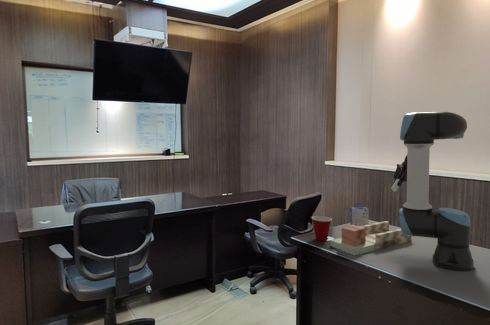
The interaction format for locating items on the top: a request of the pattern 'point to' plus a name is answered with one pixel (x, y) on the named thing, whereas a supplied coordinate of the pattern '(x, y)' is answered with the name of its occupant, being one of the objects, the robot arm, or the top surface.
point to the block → (353, 235)
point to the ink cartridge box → (359, 215)
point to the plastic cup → (321, 227)
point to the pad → (352, 247)
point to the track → (384, 235)
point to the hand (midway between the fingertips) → (393, 189)
